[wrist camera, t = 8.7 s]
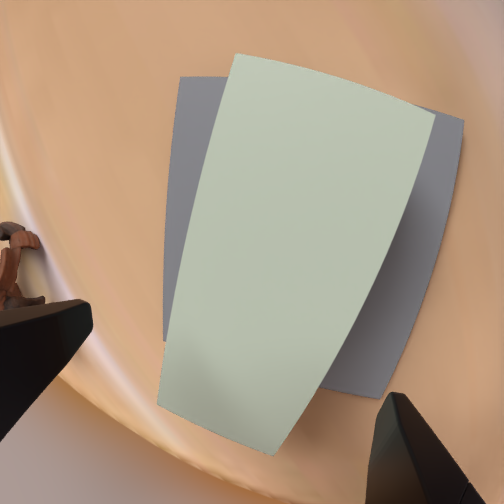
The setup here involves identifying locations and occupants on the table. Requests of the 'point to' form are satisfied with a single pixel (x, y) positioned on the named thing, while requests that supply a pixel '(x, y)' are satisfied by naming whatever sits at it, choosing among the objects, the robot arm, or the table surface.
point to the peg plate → (395, 262)
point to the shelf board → (283, 243)
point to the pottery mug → (14, 266)
